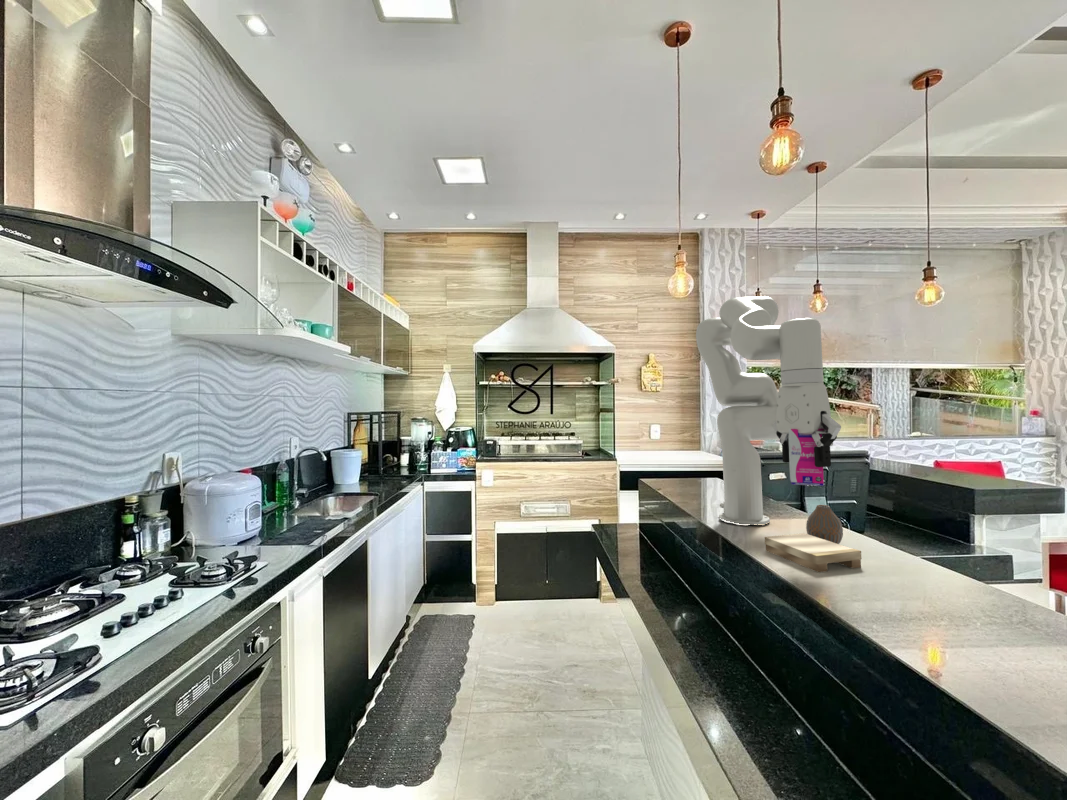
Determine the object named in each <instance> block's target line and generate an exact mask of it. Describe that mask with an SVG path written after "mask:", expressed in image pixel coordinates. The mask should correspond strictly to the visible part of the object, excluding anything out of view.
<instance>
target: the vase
mask: <svg viewBox="0 0 1067 800" xmlns="http://www.w3.org/2000/svg"><path fill="white" fill-rule="evenodd" d="M805 524H806V525H805V526H806V527H805V529H806V534H809V535H812V536H815V537H818V538H821V539H824V540H827V541H830V542H833V543H837V544H840V543H841V542H842V540H843V536H844V528H843V524H842V522H841V519H840V518H839V517H838V516H837V515H836V514H835V513H834V511H833V510H832V508H831V506H829V505H827V504H818V505H816V507H815V509H814V510H813V511H812V512H811V514H809V516H808V518H807V520H806V523H805Z"/></svg>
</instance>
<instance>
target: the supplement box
mask: <svg viewBox="0 0 1067 800" xmlns="http://www.w3.org/2000/svg"><path fill="white" fill-rule="evenodd" d="M817 431H821V429H818V430H817ZM819 436H820V438H821V439H822V434H821V435H819ZM788 438H789V463H788V465H789V481H790V485H793V486H798V485H799V486H816V487H824V486H825V483H824V482H825V481H824V467H816V466H815V459H814V447H817V445H816V443H815V441H814V439H813V437H812V435H811V434H809V435H802V434H799V433H798V430H797V429H789V434H788Z"/></svg>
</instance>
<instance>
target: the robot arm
mask: <svg viewBox="0 0 1067 800" xmlns="http://www.w3.org/2000/svg"><path fill="white" fill-rule="evenodd" d="M777 303H778V302H776V300H775V299H773V298H772V297H771V296H770V297H769V296H766V295H764V296H762V295H761V296H742V297H741V296H740V297H738V296H737V297H732V298H730V299H728V300H726V301H725V302H723V304H721V306H720V308H719V315H718V316H719V317H711V318H707V319H704V320H702V321H701V322H700V323H699V324H698V325H697V327H696V330H695V331H696V332H695V340H696V345H697V348H698V349H697V350H698V352H699V354H700V356H701V357H702V360H703V362H704V363H705V365H706V367H707V370H708V371H709V375H710V380H711V384H712V388H713V391H714V395H715V398H716V400H717V403H718V404H720V405H721V406H724V407H726V408H724V409H721V411H720V412H719V413H718V416H717V419H716V420H717V421H716V422H717V423H716V424H717V430H718V434H719V438H720V444H721V445H720V446H721V453H722V455H721V456H722V457H721V458H722V473H723V475H722V476H723V478H722V479H723V494H724V496H723V498H724V501H723V502H721V503H719V508H721V509H723V513H720V514H719V515H718V518H719V517H720V518H721V519H724V520H726V521H730V522H734V523H739V524H750V525H754V524H757V525H758V524H766V523H768V522H770V520H771V519H770V517H769V516H767V515H764V508H763V505H764V504H763V491H762V490H763V483H762V465H761V456H760V454H759V452H758V450H757V449H756V447H754V445H753V444H752V443H751V441H767V440H768V441H769V440H771V441H772V440H779V443H780V444H781V450H782V451H781V453H782V454H781V455H782V462H783V463H784V464H785V463H787V464H789V438H788V434H789V429H797V430H798V433H799V434H802V435H809V434H811V435H812V437H813V439H814V441H815V443H816V445H817V447H814V459H815V466H816V467H823V468H829V467H831V465H832V459H831V458H832V456H831V455H832V454H831V447H833V446H834V441H836V439H837V437H838V434H839V433H840V431H841V429H842V425H841V424H840V423H838V422H837V421H836V420H834V418H832V416H831V414H832V412H831V407H830V406H831V405H830V401H829V400H830V399H829V395H828V391H827V387H826V385H825V384H824V367H823V365H824V363H823V346H822V345H823V344H822V343H823V342H822V329H821V327H822V326H821V323H820V321H819V320H818V319H817V318H810V317H805V318H795V319H790V320H789V319H788V320H786V321H784V322H782V323H781V324H780V325H775V323H776V322H777V320H778V317H779V306H778V304H777ZM724 346H725V347H727V346H732V348H733V350H734V351H735V352H736V353H737V354H739V355H740V356H741V357H742V358H744V359H747V360H750V361H766V360H768V361H769V360H779V361H780V362H779V363H780V381H781V383H780V384H781V387H778V389H777V386H776V384H775V381H774V380H773V378H772V377H771V376H769V375H768V374H766V373H762V372H749V373H748V372H747V373H746V372H744V371H742V369H741V367H740V362H739V360H738V359H737V357H736V356H735V355H734V353H732V352H730V350H728V349H726V348H725V347H724ZM818 429H821V431H817V430H818ZM821 434H822V439H821V438H820V436H819V435H821ZM770 523H771V522H770Z"/></svg>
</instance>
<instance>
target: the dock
mask: <svg viewBox="0 0 1067 800" xmlns="http://www.w3.org/2000/svg"><path fill="white" fill-rule="evenodd" d="M764 544H765V551H766V552H768V553H770V554H773V555H775V556H778V557H781V558H782V559H784V560H787V561H790V562H792V563H795V564H797V565H800V566H802V567H805V568H806V569H809V570H811V571H813V572H817V573H824V572H825V573H826V572H828V564H832V563H836V564H840V565H842V566H845V567H848V568H850V569H858V568H859V569H860V568H861V567H862V561H861V560H862V551H861V550H859V549H856V548H851V547H848V546H845V545H842V544H840V543H839V544H837V543H833V542H830V541H827V540H824V539H821V538H818V537H815V536H812V535H809V534H807V533H805V532H803V533H791V534H781V535H780V534H779V535H771V536H764Z"/></svg>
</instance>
